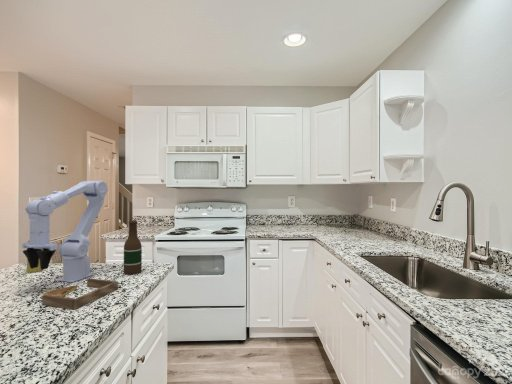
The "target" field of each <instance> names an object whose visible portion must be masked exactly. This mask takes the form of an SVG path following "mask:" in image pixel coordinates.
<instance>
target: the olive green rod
mask: <svg viewBox="0 0 512 384" xmlns="http://www.w3.org/2000/svg"><path fill="white" fill-rule="evenodd" d="M27 242H30V239H29V240H27ZM25 270H26V271H25V272H26V273H27V274H31V273H38V272H42V271H43V270H41V267H40V259H39V264H38V267H36V268H30V265H29V262H28V259H27V258H26V269H25Z"/></svg>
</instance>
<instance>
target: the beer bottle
mask: <svg viewBox="0 0 512 384" xmlns="http://www.w3.org/2000/svg"><path fill="white" fill-rule="evenodd" d="M128 225H129V226H128V236H127V238H126V241H125V242H124V244H123V274H124V275H127V276H133V275H138V274H140V273H142V265H143V264H142V263H143V262H142V259H143V257H142V256H143V255H142V253H143V252H142V250H143V248H142V247H143V246H142V243H141V241H140V239H139V235H138V226H137V225H138V221H137V220H136V219H135V220H129V221H128Z"/></svg>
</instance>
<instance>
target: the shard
mask: <svg viewBox="0 0 512 384" xmlns="http://www.w3.org/2000/svg"><path fill="white" fill-rule="evenodd" d="M78 286H79V284H76V285H72V286H66V287H62V288H61V287H60V288H56V289H51V290H48V291H45V292H43V294H42V296H43V295H52V296H59V297H65V296H66V295H68V294H70V293H71V292H73V291H74V290H76V289H77V288H78Z"/></svg>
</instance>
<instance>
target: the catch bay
mask: <svg viewBox="0 0 512 384" xmlns="http://www.w3.org/2000/svg"><path fill="white" fill-rule="evenodd" d="M86 287H87V288H94V289H95V290H93V291H91V292H88V293H86V294H83V295H80V296H79V297H76V298H74V297H65V296H63V297H59V296H52V295H43V294H42V295H41V304H42V305H43V306H47V307H54V308H61V309H67V310H78V309H80V308H82V307H84V306H86V305H89V304H91V303H92V302H95V301H96V300H99V299H101V298H103V297H105V296H107V295H109V294H111V293H113V292H115V291H117V290H119V281H117V280H109V279H108V280H107V279H101V278H99V279H97V278H91V277H90V278H86Z"/></svg>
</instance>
